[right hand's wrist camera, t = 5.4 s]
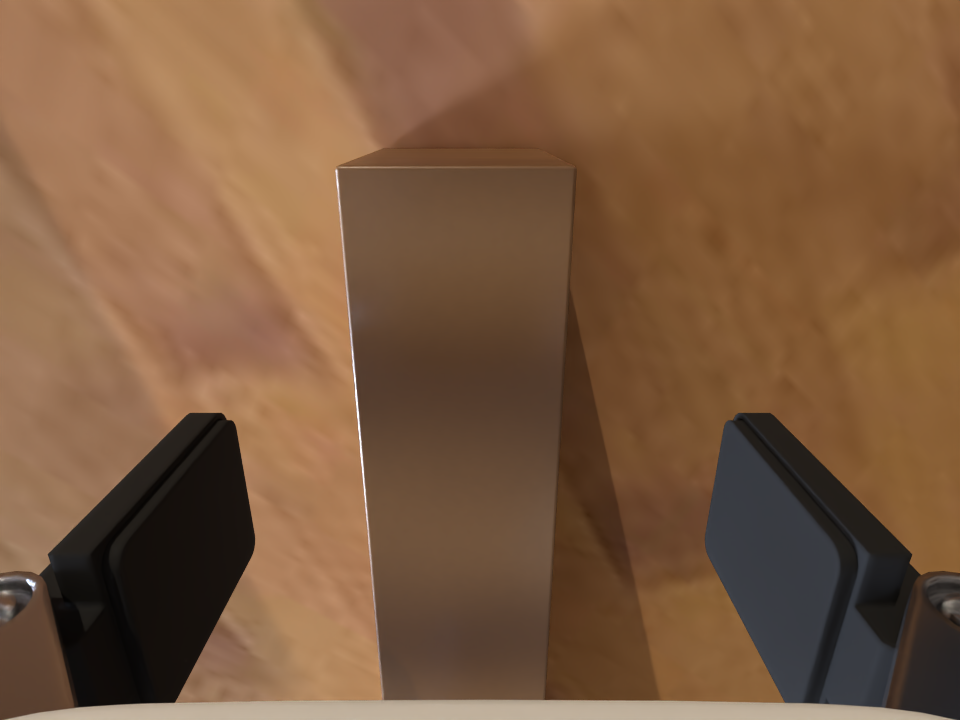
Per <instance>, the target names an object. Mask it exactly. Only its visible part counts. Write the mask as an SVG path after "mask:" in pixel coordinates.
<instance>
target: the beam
mask: <svg viewBox="0 0 960 720" xmlns="http://www.w3.org/2000/svg"><path fill="white" fill-rule="evenodd" d="M335 173H336V185H337V196H338V207H339V218H340V229H341V241H342V252H343V263H344V274H345V285H346V297H347V308H348V319H349V330H350V342H351V353H352V364H353V375H354V386H355V398H356V409H357V420H358V431H359V443H360V454H361V465H362V476H363V487H364V499H365V510H366V521H367V532H368V543H369V555H370V566H371V577H372V588H373V600H374V611H375V622H376V633H377V644H378V656H379V667H380V678H381V689H382V700H545V693H546V676H547V659H548V643H549V626H550V609H551V592H552V576H553V559H554V542H555V525H556V508H557V492H558V475H559V458H560V441H561V425H562V408H563V391H564V374H565V358H566V341H567V324H568V307H569V291H570V274H571V257H572V240H573V224H574V207H575V190H576V173H577V169H576V166H574V165H572V164H570V163H568V162H565V161H563V160H561V159H559V158H557V157H555V156H553V155H551V154H549V153H547V152H545V151H543V150H541V149H538V148H383V149H381V150H378V151H375V152H373V153H370V154H367V155H365V156H362V157H360V158H357V159H354V160H352V161H349V162H347V163H344V164H341V165H339V166H337V167H336V169H335Z"/></svg>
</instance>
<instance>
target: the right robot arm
mask: <svg viewBox="0 0 960 720" xmlns="http://www.w3.org/2000/svg"><path fill="white" fill-rule="evenodd" d="M254 546H255V534H254V528H253V522H252V516H251V511H250V505H249V499H248V493H247V488H246V482H245V476H244V470H243V465H242V459H241V453H240V447H239V442H238V436H237V430H236V426H235V424H234V422H233V421H232V420H226V418H225V416H224V415H223V414H222V413H189V414H188V415H186V416H185V417H184V418H183V419H182V420H181V421H180V422H179V423H178V424H177V425H176V426H175V427H174V428H173V429H172V430H171V431H170V432H169V433H168V434H167V435H166V436H165V437H164V438H163V439H162V440H161V441H160V442H159V443H158V444H157V445H156V446H155V447H154V448H153V449H152V450H151V452H150V453H149V454H148V455H147V456H146V457H145V458H144V459H143V460H142V461H141V462H140V463H139V464H138V465H137V466H136V467H135V468H134V469H133V470H132V471H131V472H130V473H129V474H128V475H127V476H126V477H125V478H124V479H123V480H122V481H121V482H120V483H119V484H118V485H117V486H116V487H115V488H114V489H113V490H112V491H111V492H110V493H109V494H108V495H107V496H106V497H105V498H104V499H103V500H102V501H101V502H100V503H99V504H98V505H97V506H96V507H95V508H94V509H93V510H92V511H91V512H90V513H89V514H88V515H87V516H86V517H85V518H84V519H83V520H82V521H81V522H80V523H79V524H78V525H77V526H76V527H75V528H74V529H73V530H72V531H71V532H70V533H69V534H68V535H67V536H66V537H65V538H64V539H63V540H62V541H61V542H60V543H59V544H58V545H57V546H56V547H55V548H54V549H53V550H52V551H51V552H50V553H49V554H48V556H49V559H50V562H51V564H50V565H49V566H48V567H47V568H46V569H45V570H44V571H43V572H42V573H41V574H40V575H37V574H35V573H32V572H22V571H14V572H7V573H0V720H960V573H953V572H946V571H938V572H928V573H925V574H923V575H920V574H919V573H918V572H917V571H916V570H915V569H914V568H913V567H912V566H911V565H910V564H909V562H910V559H911V556H912V554H911V553H910V552H909V551H908V550H907V549H906V548H905V547H904V546H903V545H902V544H901V543H900V542H899V541H898V540H897V539H896V538H895V537H894V536H893V535H892V534H891V533H890V532H889V531H888V530H887V529H886V528H885V527H884V526H883V525H882V524H881V523H880V522H879V521H878V520H877V519H876V518H875V517H874V516H873V515H872V514H871V513H870V512H869V511H868V510H867V509H866V508H865V507H864V506H863V505H862V504H861V503H860V502H859V501H858V500H857V499H856V498H855V497H854V496H853V495H852V494H851V493H850V492H849V491H848V490H847V489H846V488H845V487H844V486H843V485H842V484H841V483H840V482H839V481H838V480H837V479H836V478H835V477H834V476H833V475H832V474H831V473H830V472H829V471H828V470H827V469H826V468H825V467H824V466H823V465H822V464H821V463H820V462H819V461H818V460H817V459H816V458H815V457H814V456H813V455H812V454H811V453H810V452H809V451H808V449H807V448H806V447H805V446H804V445H803V444H802V443H801V442H800V441H799V440H798V439H797V438H796V437H795V436H794V435H793V434H792V433H791V432H790V431H789V430H788V429H787V428H786V427H785V426H784V425H783V424H782V423H781V422H780V421H779V420H778V419H777V418H776V417H775V416H774V415H772V414H771V413H738V414H737V415H736V416H735V418H734V420H728V421H727V422H726V424H725V426H724V430H723V436H722V442H721V447H720V453H719V459H718V465H717V470H716V476H715V482H714V488H713V493H712V499H711V505H710V511H709V516H708V522H707V528H706V534H705V546H706V551H707V554H708V557H709V559H710V561H711V562H712V564H713V566H714V568H715V570H716V572H717V574H718V576H719V578H720V580H721V582H722V583H723V585H724V587H725V589H726V591H727V593H728V595H729V597H730V599H731V601H732V602H733V604H734V606H735V608H736V610H737V612H738V614H739V616H740V618H741V620H742V622H743V623H744V625H745V627H746V629H747V631H748V633H749V635H750V637H751V639H752V641H753V642H754V644H755V646H756V648H757V650H758V652H759V654H760V656H761V658H762V660H763V662H764V663H765V665H766V667H767V669H768V671H769V673H770V675H771V677H772V679H773V681H774V682H775V684H776V686H777V688H778V690H779V692H780V694H781V696H782V698H783V700H784V702H785V703H761V702H711V701H626V700H334V701H249V702H199V703H175V702H176V700H177V698H178V696H179V694H180V692H181V690H182V688H183V686H184V684H185V682H186V681H187V679H188V677H189V675H190V673H191V671H192V669H193V667H194V665H195V663H196V662H197V660H198V658H199V656H200V654H201V652H202V650H203V648H204V646H205V644H206V642H207V641H208V639H209V637H210V635H211V633H212V631H213V629H214V627H215V625H216V623H217V622H218V620H219V618H220V616H221V614H222V612H223V610H224V608H225V606H226V604H227V602H228V601H229V599H230V597H231V595H232V593H233V591H234V589H235V587H236V585H237V583H238V582H239V580H240V578H241V576H242V574H243V572H244V570H245V568H246V566H247V564H248V562H249V561H250V559H251V557H252V554H253V551H254Z"/></svg>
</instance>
